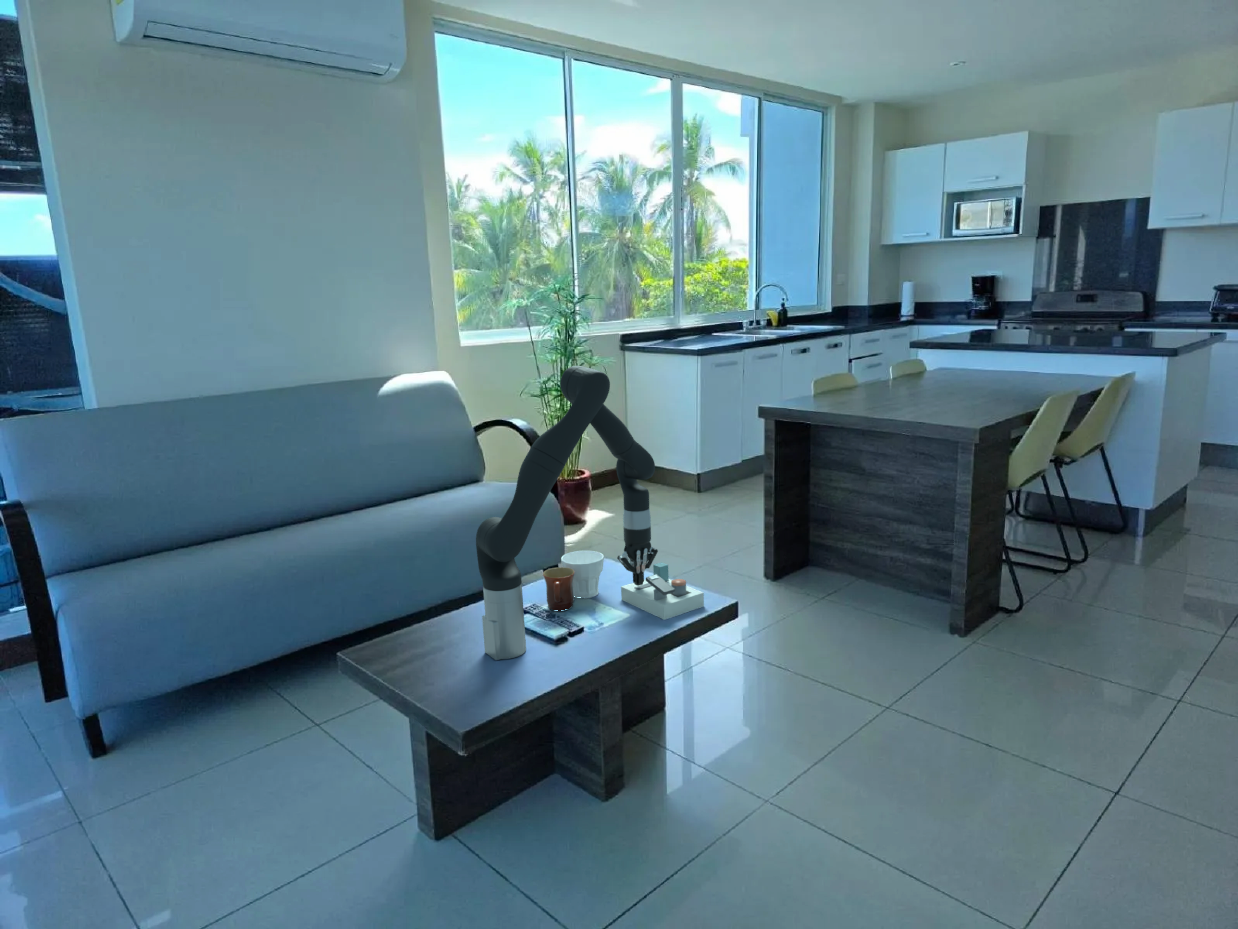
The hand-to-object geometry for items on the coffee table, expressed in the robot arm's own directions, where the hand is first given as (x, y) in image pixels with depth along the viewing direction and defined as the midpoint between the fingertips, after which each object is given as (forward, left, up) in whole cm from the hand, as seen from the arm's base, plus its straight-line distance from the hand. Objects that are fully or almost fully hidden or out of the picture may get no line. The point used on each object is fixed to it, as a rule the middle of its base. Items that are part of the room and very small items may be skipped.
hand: (638, 584), depth 220 cm
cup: (-8, +16, -5) cm, 19 cm away
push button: (+6, -10, -3) cm, 12 cm away
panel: (+4, -5, -5) cm, 8 cm away
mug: (-20, +10, -5) cm, 23 cm away
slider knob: (+8, 0, -1) cm, 8 cm away
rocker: (0, -10, +3) cm, 10 cm away
